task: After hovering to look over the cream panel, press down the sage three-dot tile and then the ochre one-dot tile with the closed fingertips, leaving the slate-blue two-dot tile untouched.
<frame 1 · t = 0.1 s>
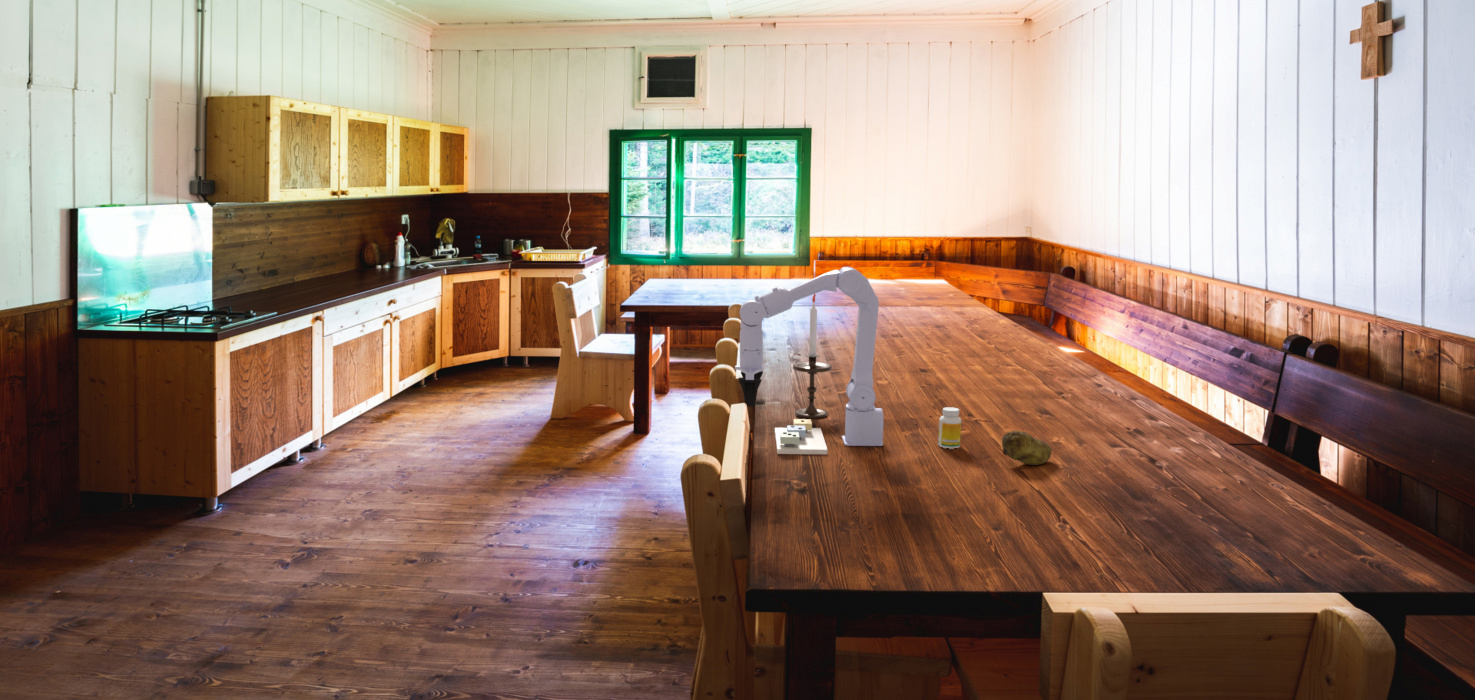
hand: (750, 402, 223), 10 cm above the table, tool pointing down, fingers open, 7 cm apart
tile one: (802, 424, 229), point 3 cm above the table, slide at 0.0 cm
candlestick: (811, 415, 252), on the table
panel: (799, 442, 224), on the table
tile three: (789, 437, 216), point 3 cm above the table, slide at 0.0 cm
supplement bottle: (948, 447, 222), on the table
potato: (1026, 464, 208), on the table
tile two: (796, 430, 223), point 3 cm above the table, slide at 0.0 cm
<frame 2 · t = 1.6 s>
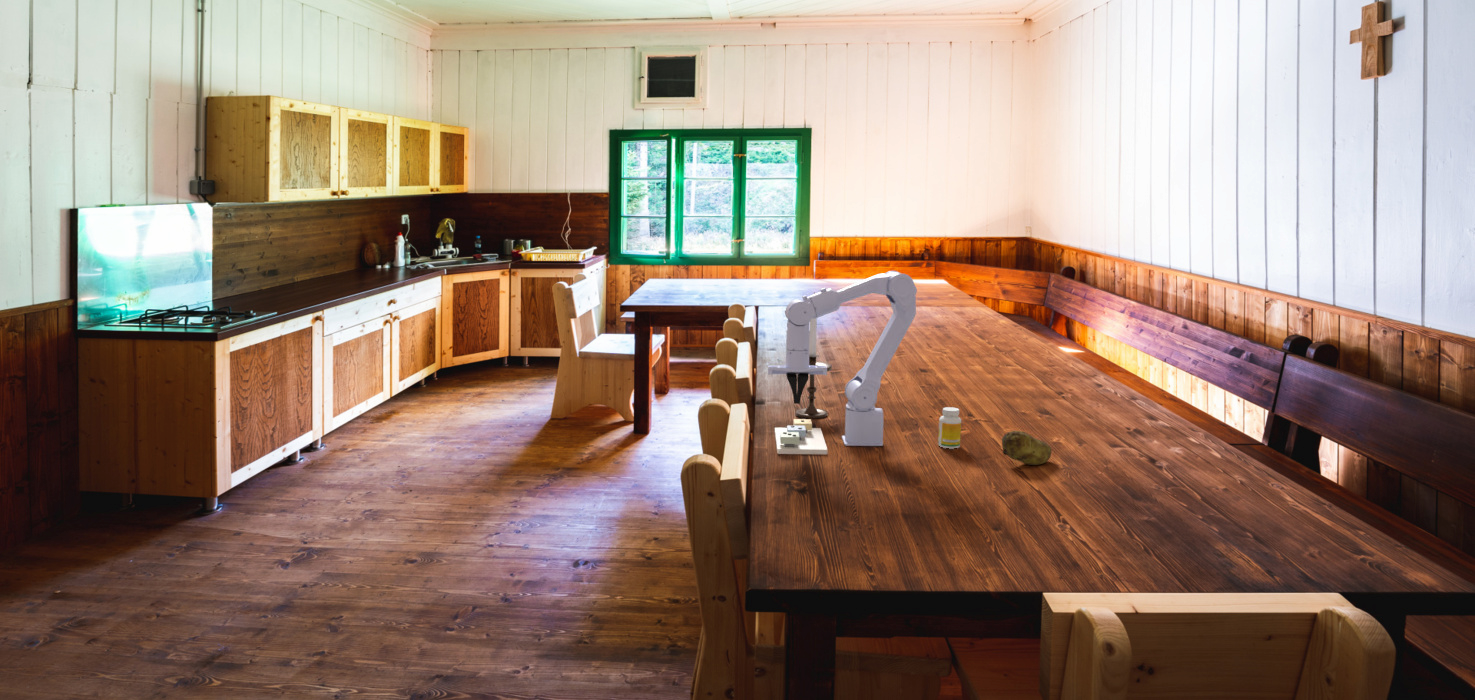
hand: (796, 402, 221), 10 cm above the table, tool pointing down, fingers closed
nothing on the table moved.
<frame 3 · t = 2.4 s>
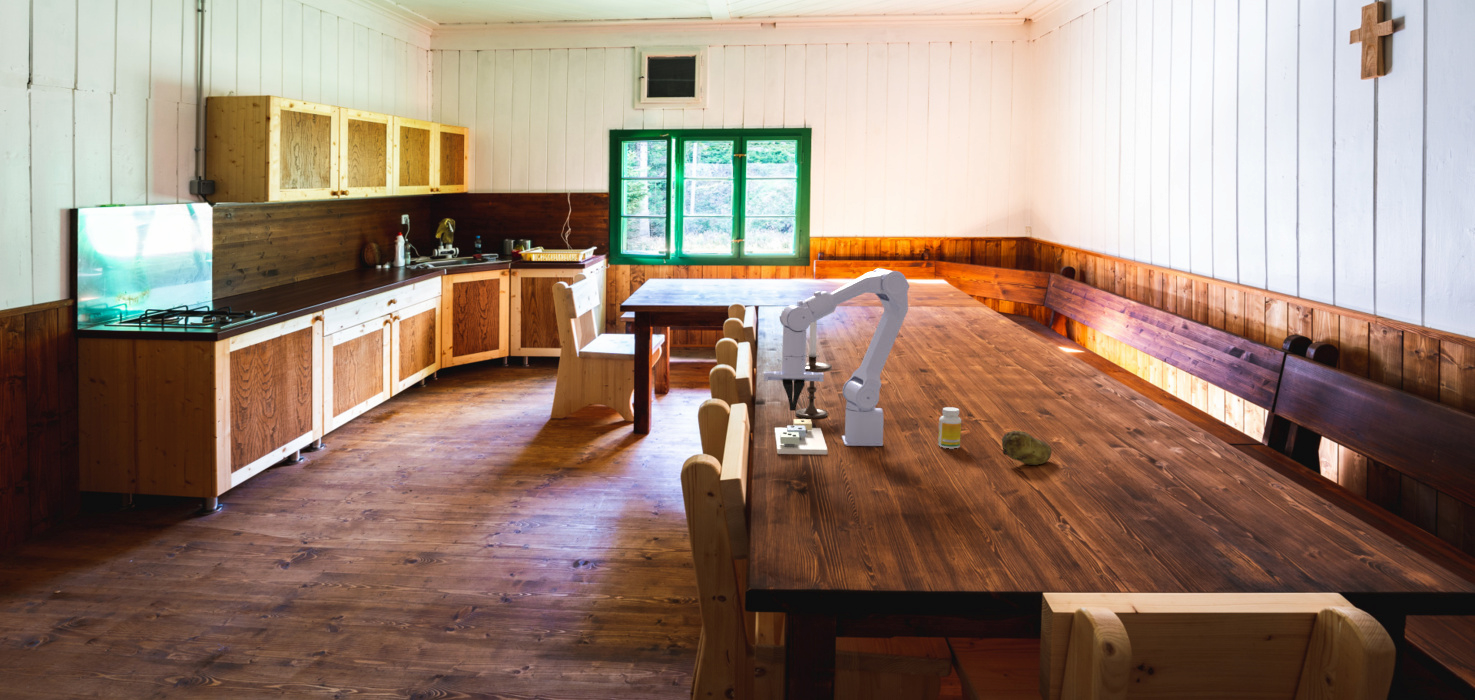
hand: (792, 409, 218), 9 cm above the table, tool pointing down, fingers closed
nothing on the table moved.
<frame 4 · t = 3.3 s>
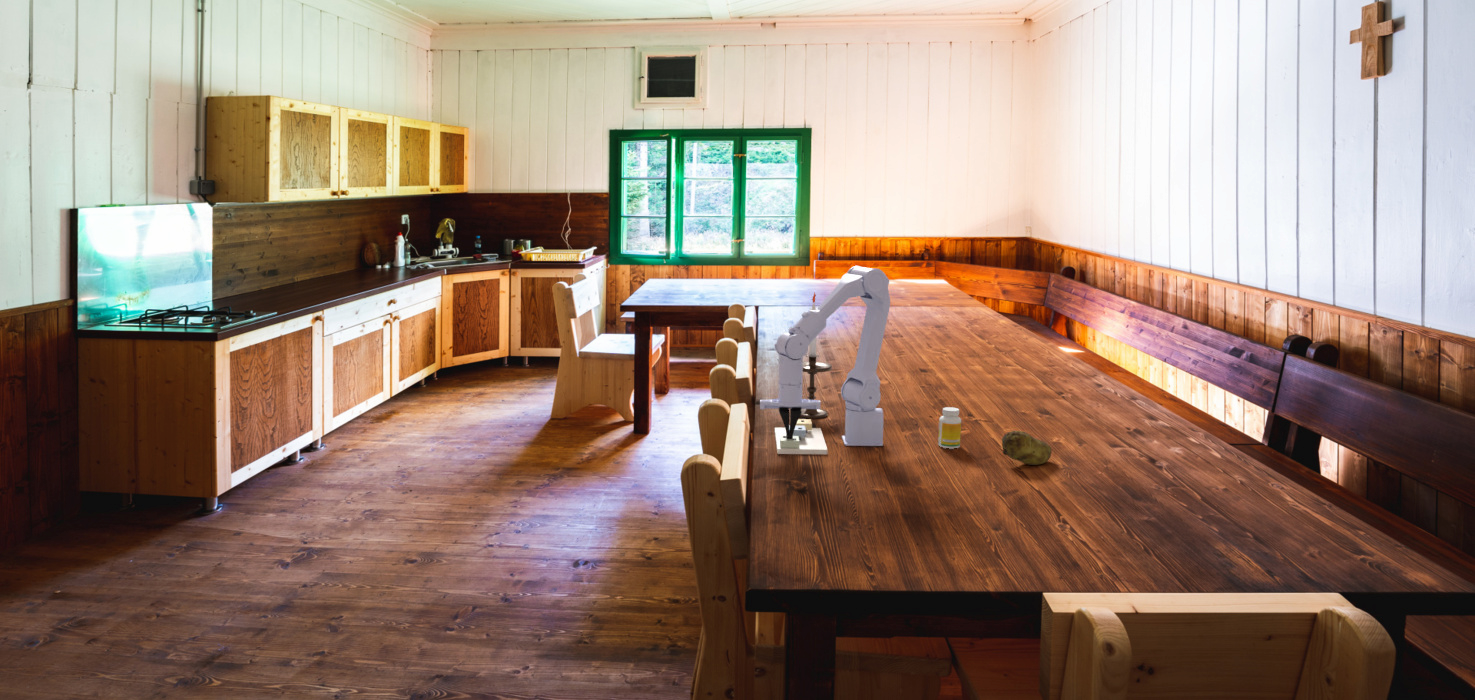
hand: (789, 437, 216), 3 cm above the table, tool pointing down, fingers closed, pressing on tile three
tile three: (789, 441, 216), point 2 cm above the table, slide at 0.9 cm, touching gripper
everything else where it was.
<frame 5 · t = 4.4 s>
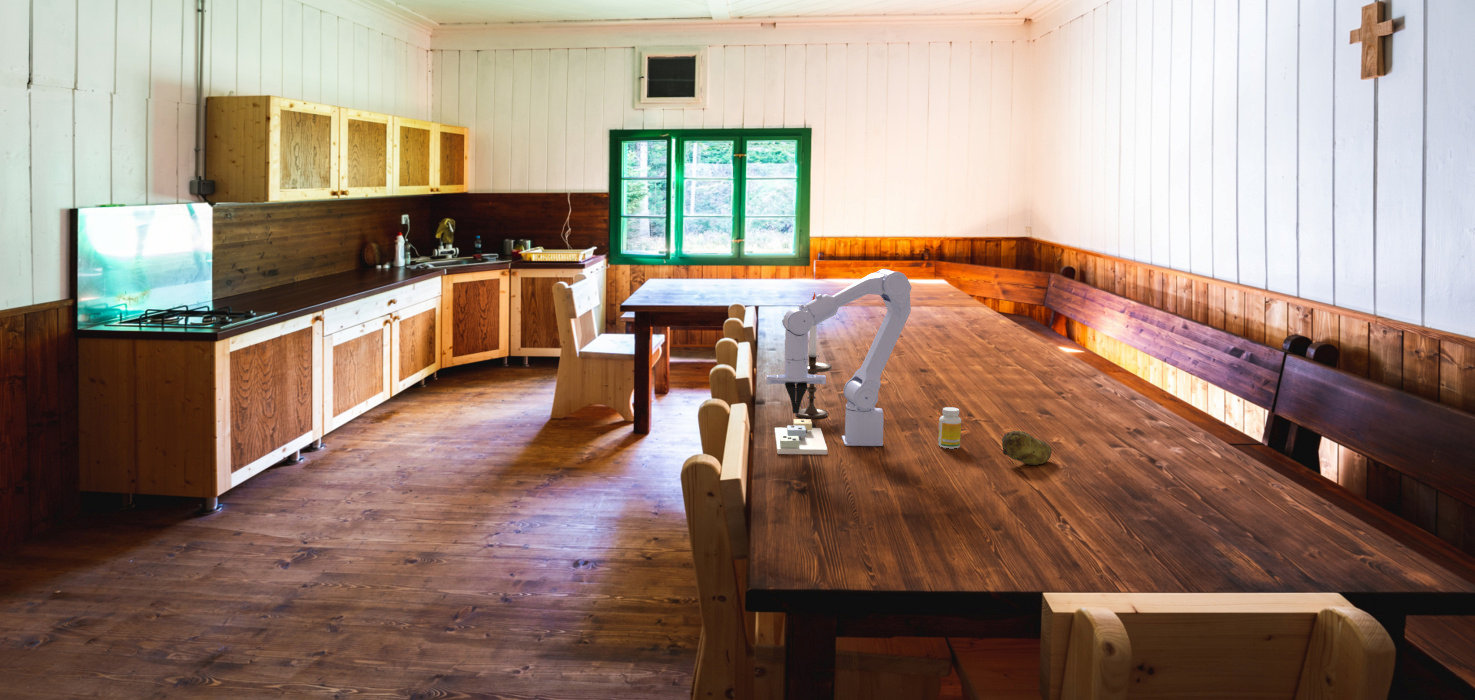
hand: (795, 412, 220), 8 cm above the table, tool pointing down, fingers closed
tile three: (789, 441, 216), point 2 cm above the table, slide at 0.9 cm
everything else where it was.
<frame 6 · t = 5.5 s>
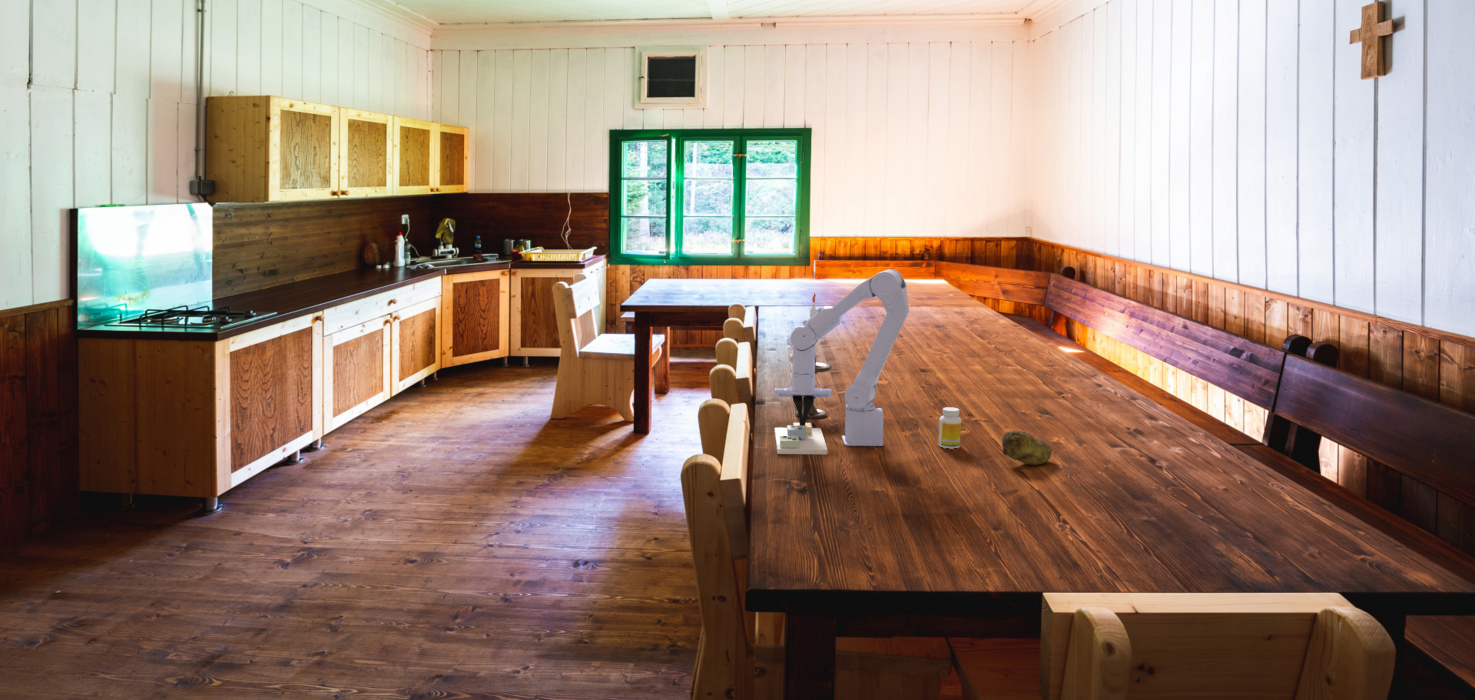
hand: (802, 424, 229), 3 cm above the table, tool pointing down, fingers closed, pressing on tile one
tile one: (802, 427, 229), point 2 cm above the table, slide at 0.9 cm, touching gripper
everything else where it was.
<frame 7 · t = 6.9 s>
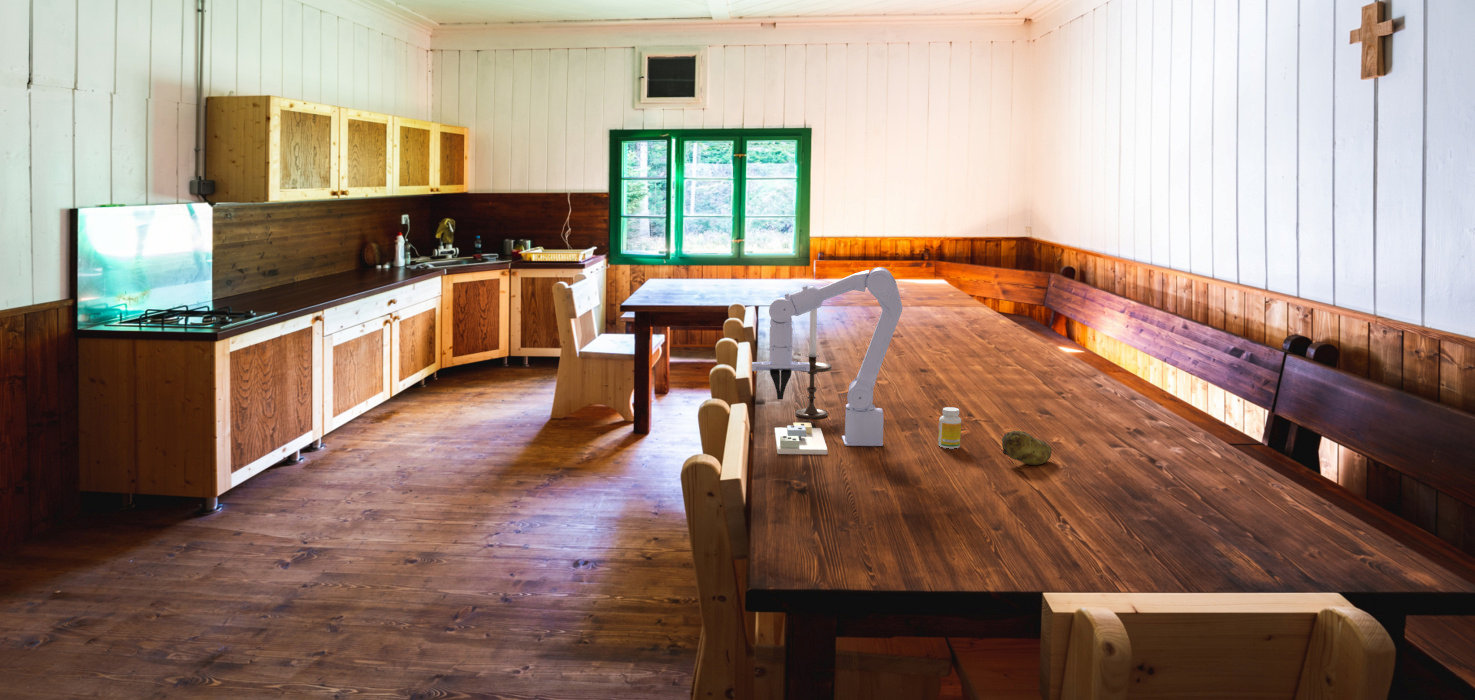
hand: (780, 398, 226), 10 cm above the table, tool pointing down, fingers closed
tile one: (802, 427, 229), point 2 cm above the table, slide at 0.9 cm
everything else where it was.
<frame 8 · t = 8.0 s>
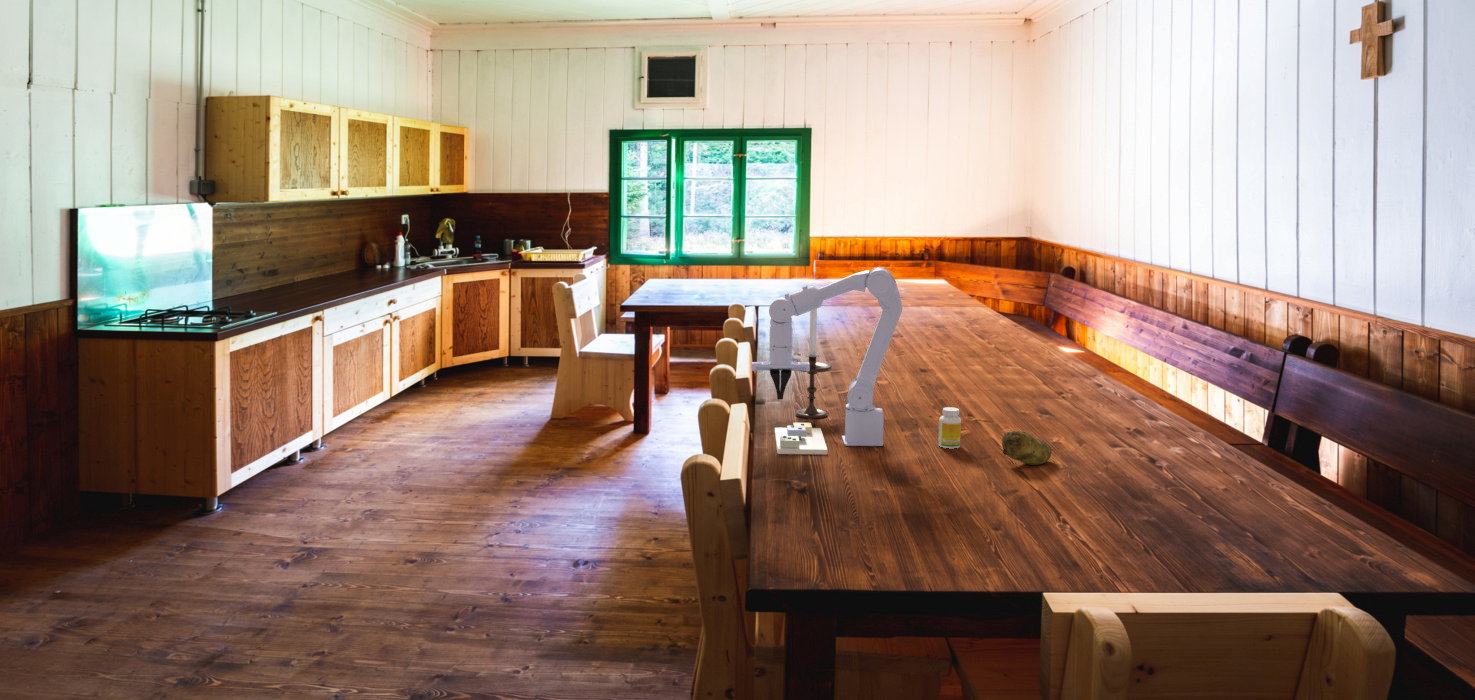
hand: (780, 398, 226), 10 cm above the table, tool pointing down, fingers closed
nothing on the table moved.
at the end: tile three slide at 0.9 cm; tile one slide at 0.9 cm; tile two slide at 0.0 cm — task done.
